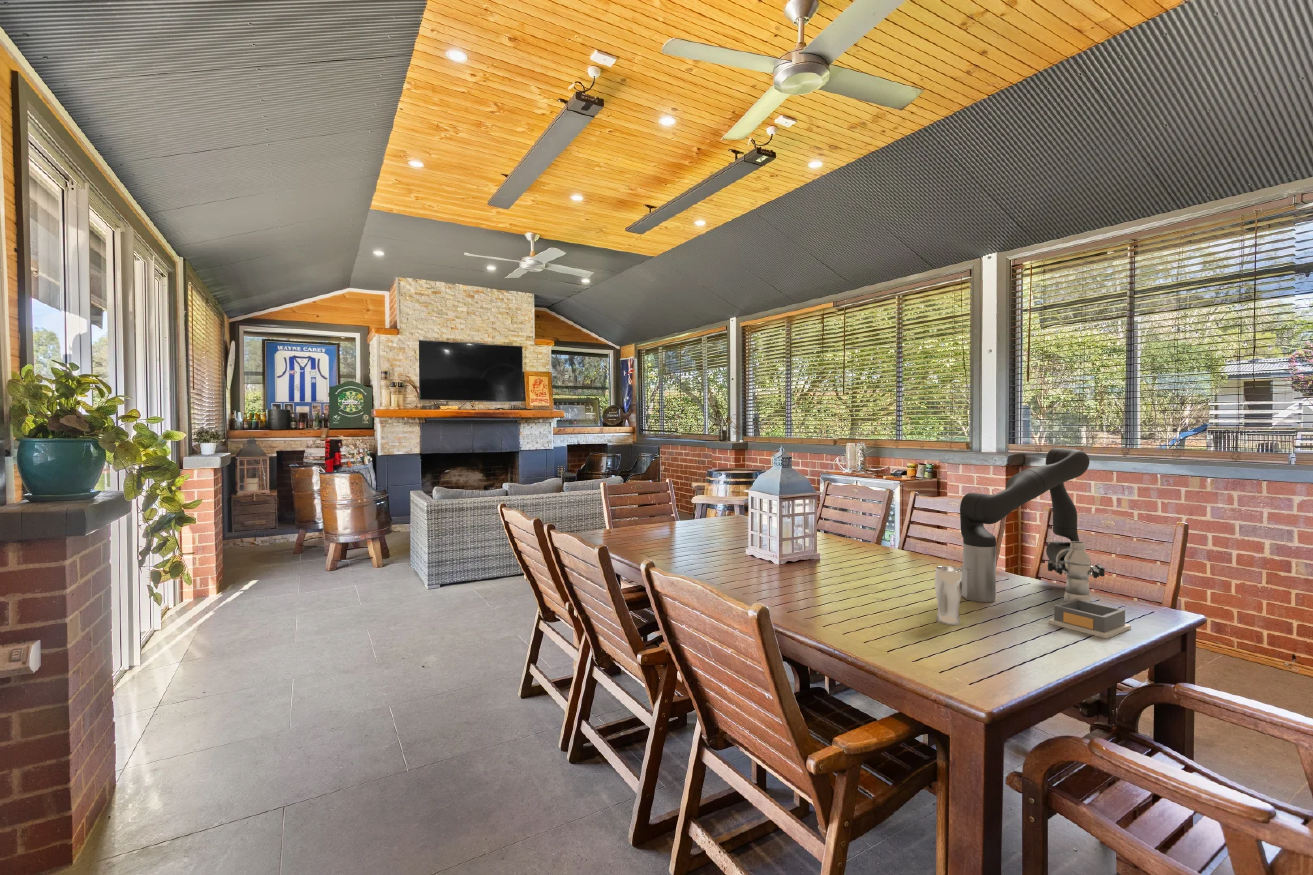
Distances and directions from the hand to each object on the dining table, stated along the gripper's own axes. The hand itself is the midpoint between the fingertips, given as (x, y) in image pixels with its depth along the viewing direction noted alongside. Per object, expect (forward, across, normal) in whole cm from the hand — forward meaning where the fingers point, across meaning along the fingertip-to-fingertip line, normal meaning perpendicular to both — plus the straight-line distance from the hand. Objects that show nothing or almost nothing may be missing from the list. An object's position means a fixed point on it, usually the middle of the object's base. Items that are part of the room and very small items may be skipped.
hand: (1078, 572), depth 178 cm
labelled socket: (+16, +1, +11) cm, 19 cm away
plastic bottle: (-1, 0, +11) cm, 11 cm away
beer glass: (+30, -33, +11) cm, 46 cm away
